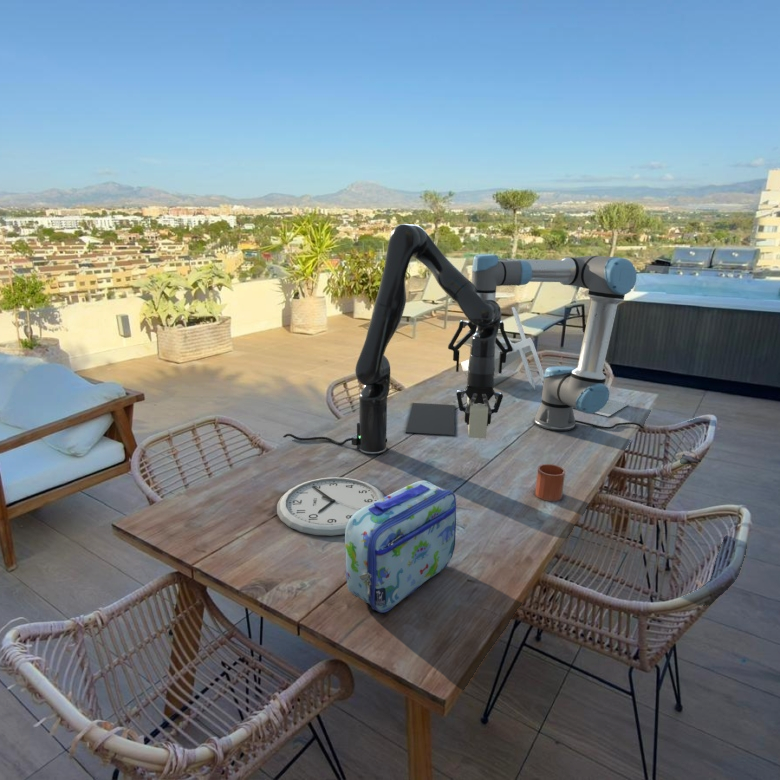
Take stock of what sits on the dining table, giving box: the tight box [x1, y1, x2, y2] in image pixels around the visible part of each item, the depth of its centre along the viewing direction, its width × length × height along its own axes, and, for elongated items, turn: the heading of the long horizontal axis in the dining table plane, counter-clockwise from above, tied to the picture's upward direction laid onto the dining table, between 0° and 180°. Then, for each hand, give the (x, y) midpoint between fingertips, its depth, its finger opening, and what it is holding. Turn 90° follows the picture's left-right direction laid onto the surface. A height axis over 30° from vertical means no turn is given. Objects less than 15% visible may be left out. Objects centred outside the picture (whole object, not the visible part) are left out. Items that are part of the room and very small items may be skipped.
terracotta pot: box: [534, 463, 566, 502], centre depth 149 cm, size 7×7×8 cm
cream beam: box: [466, 396, 488, 439], centre depth 164 cm, size 5×26×9 cm, turn 173°
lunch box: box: [344, 480, 457, 614], centre depth 109 cm, size 26×11×21 cm, turn 135°
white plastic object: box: [460, 306, 545, 390], centre depth 260 cm, size 37×45×31 cm
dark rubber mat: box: [405, 402, 456, 437], centre depth 209 cm, size 18×34×1 cm, turn 173°
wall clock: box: [276, 476, 386, 537], centre depth 143 cm, size 30×2×30 cm
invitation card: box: [594, 399, 628, 418], centre depth 226 cm, size 21×1×15 cm
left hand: (477, 424), depth 157 cm, fingers closed on cream beam, 5 cm apart
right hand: (478, 371), depth 169 cm, fingers open, 13 cm apart
